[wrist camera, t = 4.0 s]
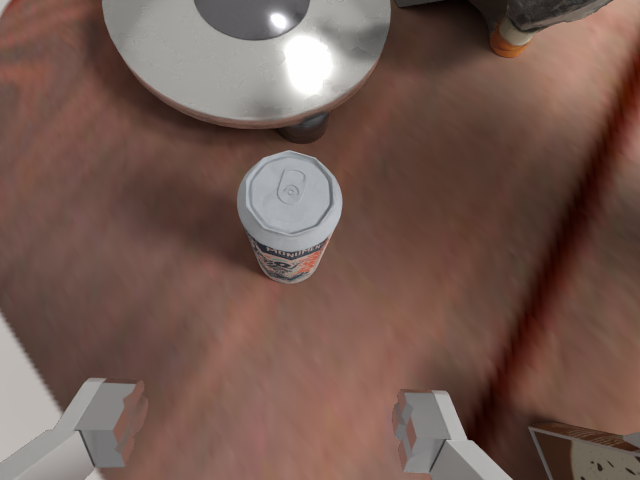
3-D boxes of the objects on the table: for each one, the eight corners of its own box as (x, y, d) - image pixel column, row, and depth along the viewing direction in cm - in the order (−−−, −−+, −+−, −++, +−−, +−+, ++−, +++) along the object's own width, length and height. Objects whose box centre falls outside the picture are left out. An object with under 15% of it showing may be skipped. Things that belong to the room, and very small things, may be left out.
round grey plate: (311, -73, 35) (315, -145, 30) (421, 97, 31) (448, 49, 26) (93, -15, 31) (53, -87, 26) (187, 192, 27) (162, 158, 21)
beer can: (249, 274, 25) (217, 227, 14) (268, 216, 27) (253, 129, 15) (311, 292, 26) (330, 259, 14) (327, 233, 27) (357, 159, 15)
